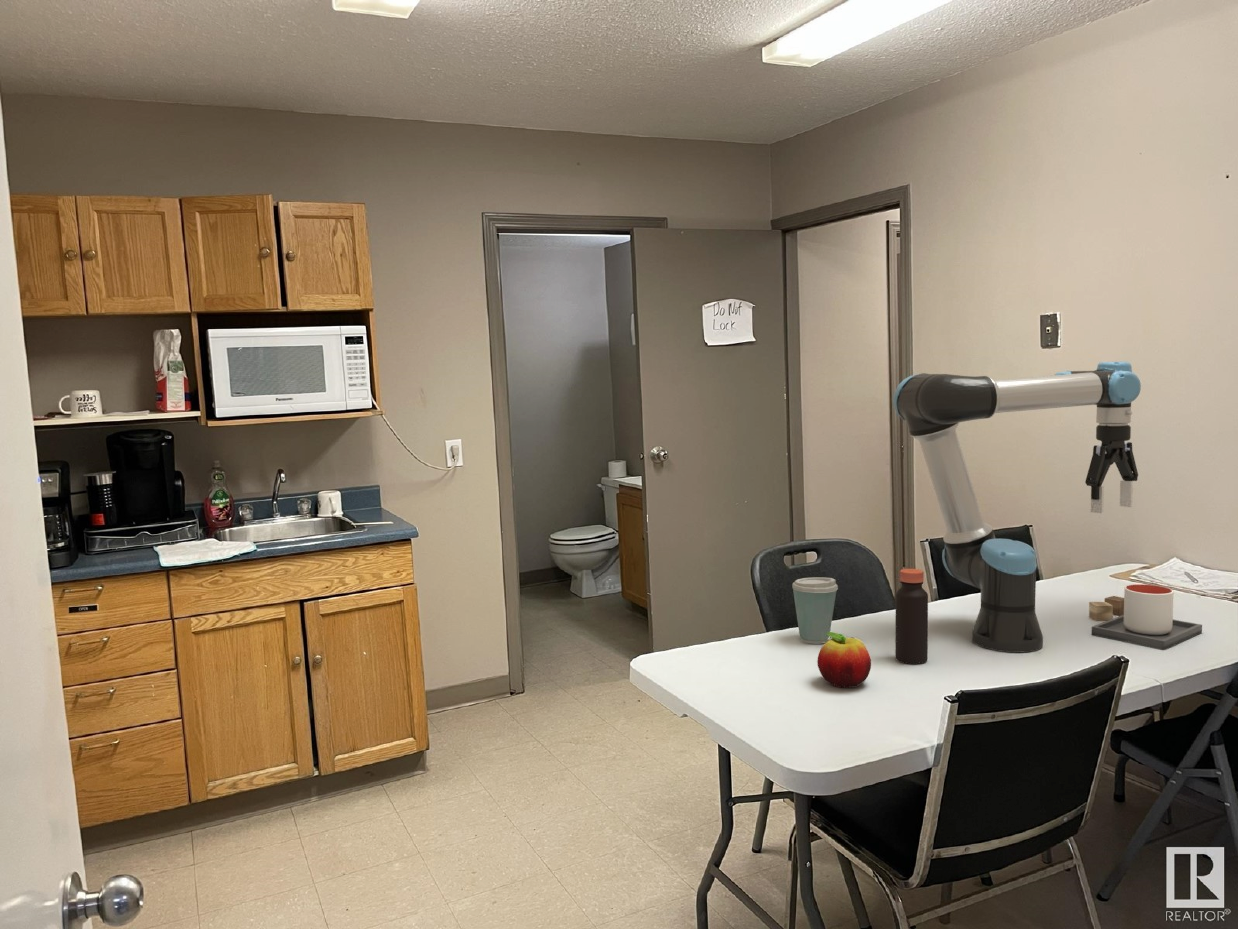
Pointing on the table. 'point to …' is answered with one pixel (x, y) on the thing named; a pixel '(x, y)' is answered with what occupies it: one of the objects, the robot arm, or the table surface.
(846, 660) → the fruit
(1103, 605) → the maple block
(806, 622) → the disposable coffee cup
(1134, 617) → the cup
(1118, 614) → the walnut block
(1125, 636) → the tray
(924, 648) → the bottle
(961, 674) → the table surface
